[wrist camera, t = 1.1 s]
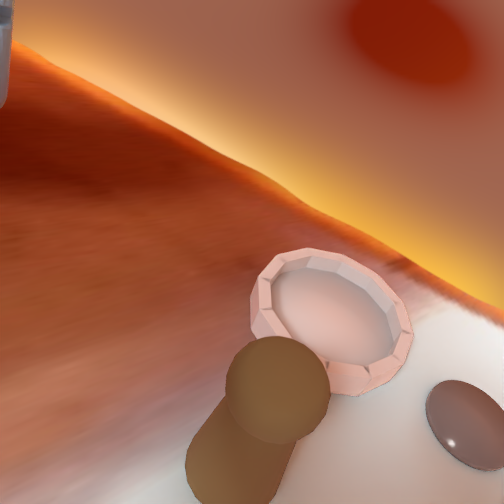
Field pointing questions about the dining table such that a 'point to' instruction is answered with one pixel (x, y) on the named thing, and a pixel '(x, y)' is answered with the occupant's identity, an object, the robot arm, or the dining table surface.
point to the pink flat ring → (334, 316)
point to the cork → (258, 422)
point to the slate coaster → (467, 424)
